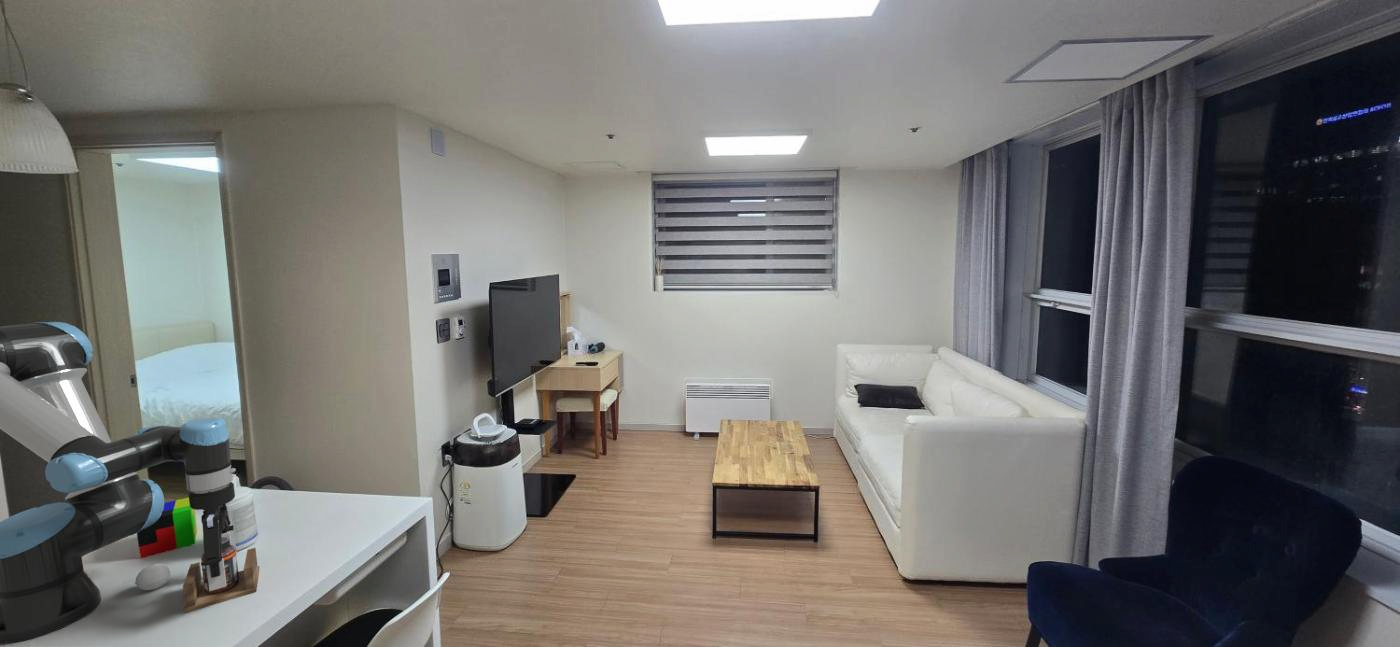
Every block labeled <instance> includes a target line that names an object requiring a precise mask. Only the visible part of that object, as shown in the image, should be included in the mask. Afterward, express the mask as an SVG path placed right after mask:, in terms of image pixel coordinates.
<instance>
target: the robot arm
mask: <svg viewBox="0 0 1400 647" xmlns="http://www.w3.org/2000/svg"><path fill="white" fill-rule="evenodd" d="M92 352H94V350H93V346H92V343H91V340H90V339H89V338H88V336H87V334H85V333H84V332H83V331H82V330H81V329H79V328H78V327H76V326H74V325H71V324H70V323H67V322H63V321H62V322H61V321H49V322H43V321H35V322H31V323H21V324H11V325H10V324H9V325H3V326H0V430H1V431H2V432H4V433H5V434H7V435H9V436H10V437H12V438H13V439H14V440H15V441H17V442H18V443H20V444H22V446H23V447H25V448H26V449H29V450H30V451H31V452H32V453H34V454H35V455H36V456H38V457H39V458H41V459H43V460H44V461H45V462H47V465H46V467H45V471H44V474H45V478H46V481H47V482H49V483H50V487H51V488H53V489H54V490H55V491H57V492H60V493H66V494H67V495H66V496H65V498H64V500H65V502H61V501H60V502H53V503H47V504H43V505H41V506H39V507H32V508H30V509H27V510H23V511H21V512H19V513H16V514H14V515H11V516H9V517H7V518H5V519H3V520H1V521H0V644H10V643H17V642H22V641H25V640H26V641H27V640H30V639H34V638H38V637H40V636H43V635H46V634H50V633H52V632H54V631H57V630H59V629H62V628H65V627H66V626H68V625H71V624H73V623H75V622H77V621H78V620H81V619H82V618H84V617H86V616H87V615H89V614H90V613H92V612H93V611H94V610H95V609H97V607H98V606H99V605H100V604H101V602H102V597H101V590H100V588H99V587H98V586H97V585H96V584H95V582H94V581H93V580H92V579H91V578H90V577H89V575H88V574H87V573H86V572H85V569H84V564H83V557H84V556H85V555H88V554H91V553H93V552H96V551H97V550H100V549H102V548H105V547H107V546H109V545H111V544H113V543H117V542H118V541H121V540H123V539H124V538H125V539H126V538H128V537H129V536H134V535H135V534H136V535H137V533H138V532H139V531H141V530H143V529H145V528H147V527H149V526H151V525H152V524H154V523H155V522H156V521H157V520H158V519H159V518H160V516H161V514H162V511H163V509H164V503H165V497H164V493H163V490H162V489H161V487H160V485H158V483H155V481H153V480H152V479H149V478H148V479H147V478H146V479H145V478H144V479H143V478H142V479H141V478H140V477H139V474H138V473H137V472H139V471H141V470H145V469H148V468H150V467H154V466H158V465H160V464H163V463H166V462H178V463H179V462H181V463H184V464H183V465H184V470H185V473H184V474H185V481H186V490H187V491H189V492H188V498H189V503H190V507H191V508H192V509H194V510H195V511H196V510H197V511H199V510H200V511H201V510H202V515H201V516H200V517H201V519H200V520H201V524H202V532H203V533H202V538H203V553H204V562H200V567H202V566H204V565H205V566H206V568H207V575H208V583H209V591H213V590H216V589H220V588H223V587H226V577H225V569H224V561H223V558H222V537H228V538H229V542H230V545H232V544H231V535H230V532H227V531H232V530H234V526H233V525H232V526H230V524H231V522H230V520H229V516H228V511H227V506H226V503H228V502H230V501H232V500H233V499H234V497H235V491H234V487H235V484H234V482H233V481H234V479H233V478H234V477H233V474H234V473H235V472H236V471H237V470H236V468H234V467H232V458H231V450H230V440H229V439H230V438H229V437H230V434H229V432H228V427H227V423H226V421H225V420H224V418H221V417H203V418H198V419H193V420H190V421H187V422H184V423H182V424H181V425H180V426H171V425H153V426H152V425H151V426H145V427H143V428H141V429H140V430H139V431H137V432H136V433H134V434H133V435H132V436H128V437H125V438H122V439H119V440H114V441H112V440H111V438H110V436H109V434H108V431H107V429H106V427H105V425H104V423H103V421H102V419H101V418H100V414H99V412H98V411H97V409H96V406H95V405H94V403H93V400H92V399H91V396H90V395H89V393H88V391H87V389H86V387H85V384H84V383H83V380H82V378H83V376H84V375H85V374H86V373H87V372H88V369H87V367H86V366H87V365H88V364H90V362H91V361H92V359H93V356H94V354H93V353H92ZM212 557H213V558H212Z"/></svg>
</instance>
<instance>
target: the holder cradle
mask: <svg viewBox="0 0 1400 647" xmlns="http://www.w3.org/2000/svg"><path fill="white" fill-rule="evenodd" d="M243 565H244V567H243V570H238V575H239V581H238V583H237V584H236V585H235V586H233V587H232V588H230V589H228V590H225V591H223V592H219V593H207V592H205V588H204V581H203V580H202V579H203V576H202V571H201V570H202V568H201V562H200V561H199V562H195V563H194V562H193V563H190V565H189V568H188V571H187V573H186V576H185V578H184V581H183V585H182V591H183V598H184V600H183V601H184V608H183V613H184V614H185V613H190V612H192V611H193V612H194V611H196V610H199V609H203V608H206V607H210V606H213V605H216V604H220V603H223V602H226V601H230V600H233V599H235V598H236V599H237V598H239V597H240V598H241V597H242V596H243V597H244V596H247V595H251V594H253V593H256V592H257V590H258V584H259V583H258V582H259V577H260V576H259V575H260V570H261V569H260V565H258V557H257V549H256V547H252V548H249V549H247V550H246V556H245V561H244V564H243Z"/></svg>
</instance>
